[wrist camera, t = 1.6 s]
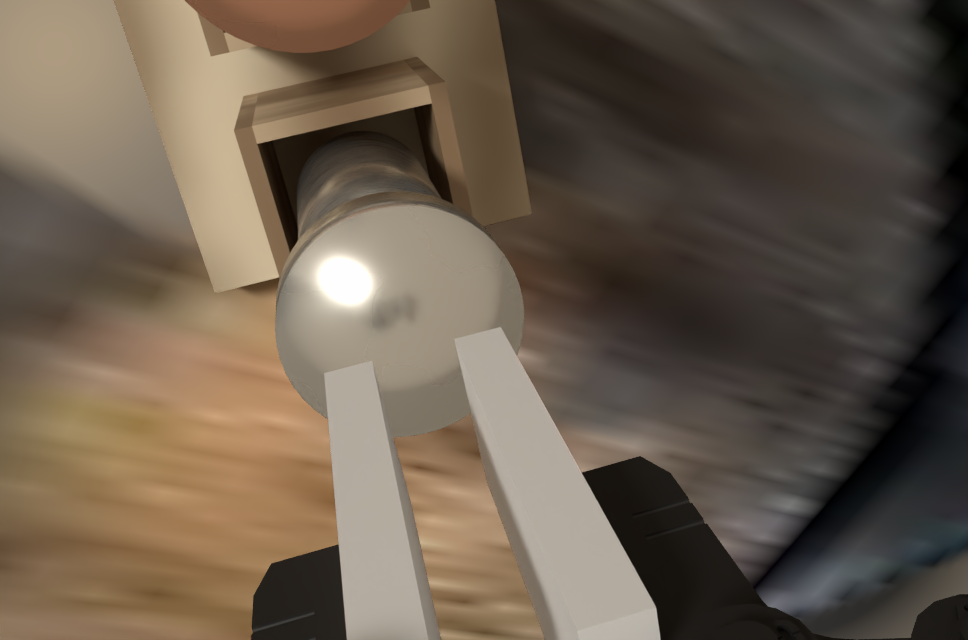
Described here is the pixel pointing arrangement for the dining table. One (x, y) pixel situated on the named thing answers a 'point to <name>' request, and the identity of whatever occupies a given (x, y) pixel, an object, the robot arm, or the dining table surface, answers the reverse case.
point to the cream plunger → (388, 282)
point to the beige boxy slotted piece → (322, 119)
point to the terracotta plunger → (299, 21)
